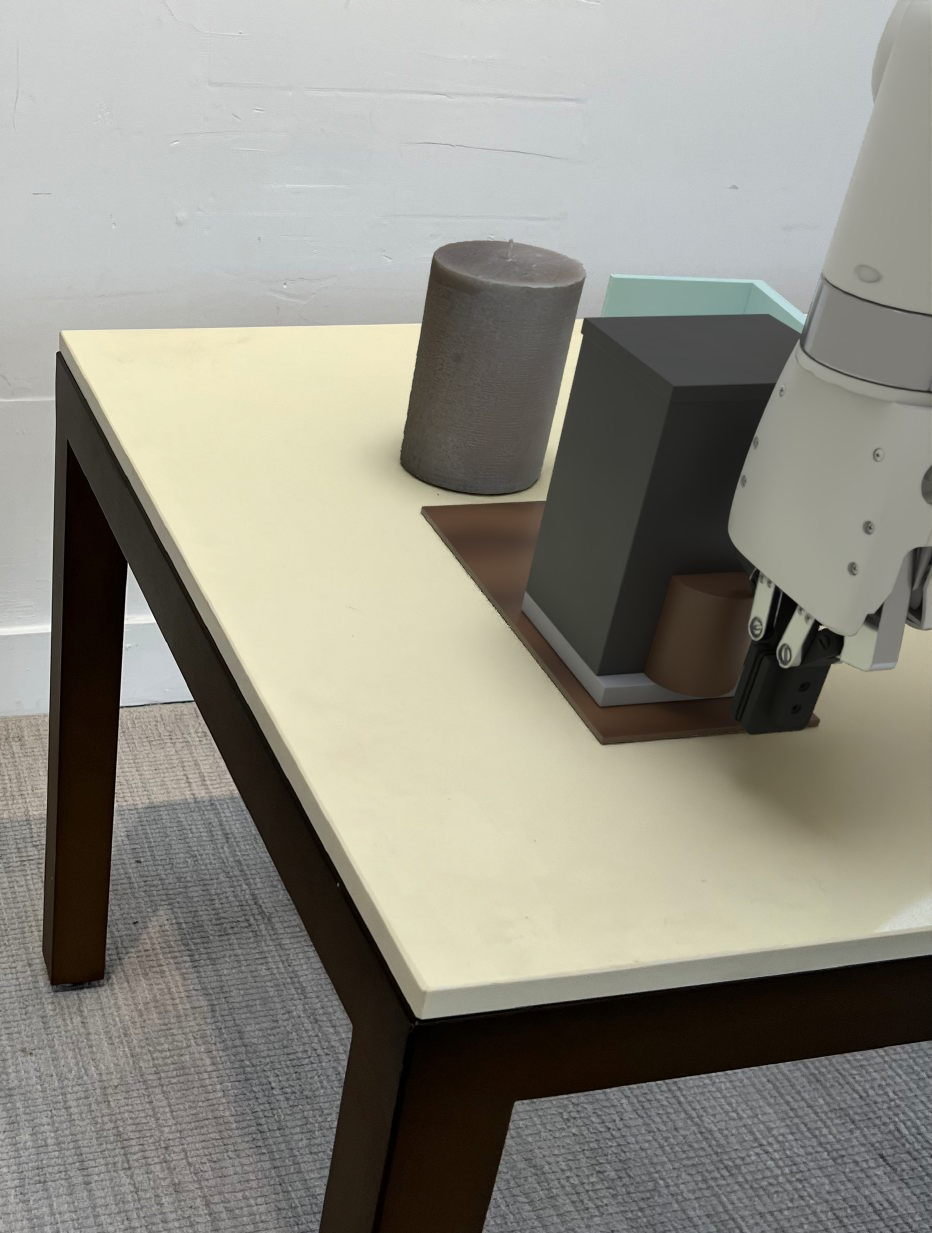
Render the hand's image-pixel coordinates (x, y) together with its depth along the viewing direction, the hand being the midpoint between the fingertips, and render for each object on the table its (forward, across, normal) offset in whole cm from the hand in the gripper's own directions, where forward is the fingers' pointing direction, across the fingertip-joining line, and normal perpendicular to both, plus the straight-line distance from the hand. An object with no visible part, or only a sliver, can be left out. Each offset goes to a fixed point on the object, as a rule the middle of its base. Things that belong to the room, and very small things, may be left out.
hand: (766, 722), depth 65 cm
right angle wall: (+3, +46, -22) cm, 51 cm away
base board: (+3, +16, 0) cm, 17 cm away
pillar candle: (+3, +36, 0) cm, 36 cm away
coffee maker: (+3, +11, 0) cm, 11 cm away
